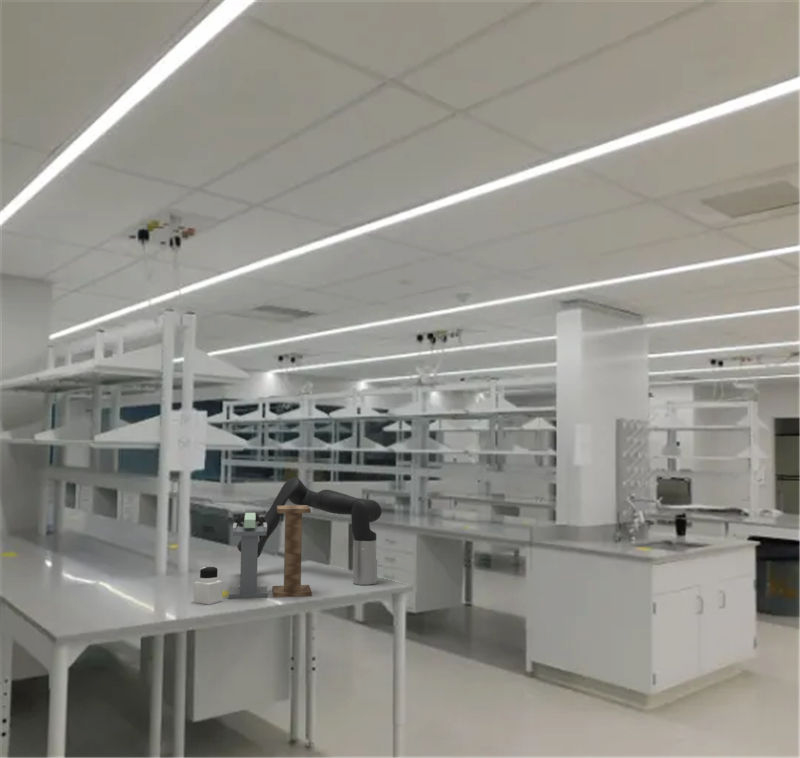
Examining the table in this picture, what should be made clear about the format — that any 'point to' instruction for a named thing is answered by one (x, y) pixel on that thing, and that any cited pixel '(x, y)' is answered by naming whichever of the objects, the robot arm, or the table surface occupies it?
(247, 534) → the gray pedestal stand
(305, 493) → the robot arm
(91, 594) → the table surface
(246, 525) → the slide box
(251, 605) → the table surface
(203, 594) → the medicine bottle
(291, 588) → the brown pedestal stand
